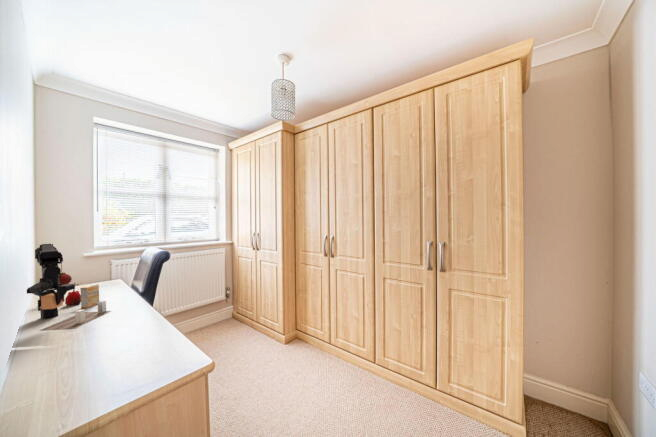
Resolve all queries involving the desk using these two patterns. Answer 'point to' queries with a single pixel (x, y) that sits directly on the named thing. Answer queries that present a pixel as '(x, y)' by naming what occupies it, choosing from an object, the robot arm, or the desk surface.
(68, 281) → the lantern
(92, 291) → the supplement box
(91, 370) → the desk surface
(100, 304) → the steel post
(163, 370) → the desk surface
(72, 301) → the red clay folk toy
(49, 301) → the peach wooden cube
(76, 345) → the desk surface
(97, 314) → the walnut board
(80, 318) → the white post
